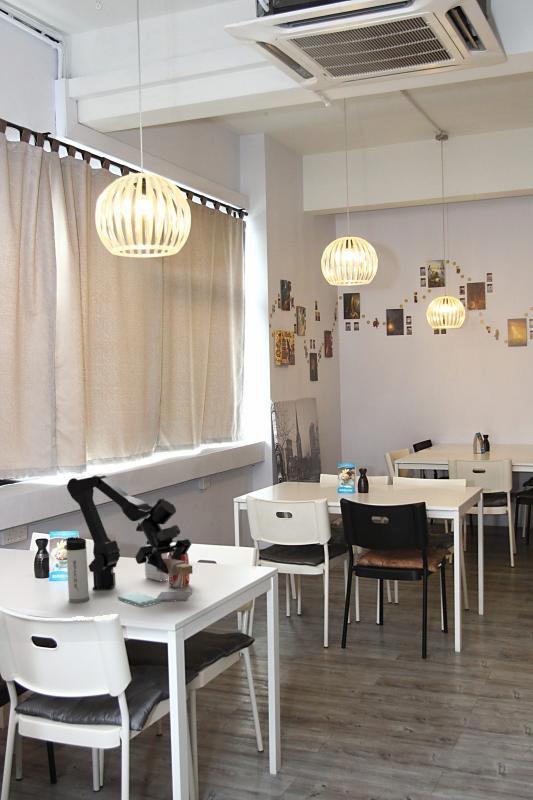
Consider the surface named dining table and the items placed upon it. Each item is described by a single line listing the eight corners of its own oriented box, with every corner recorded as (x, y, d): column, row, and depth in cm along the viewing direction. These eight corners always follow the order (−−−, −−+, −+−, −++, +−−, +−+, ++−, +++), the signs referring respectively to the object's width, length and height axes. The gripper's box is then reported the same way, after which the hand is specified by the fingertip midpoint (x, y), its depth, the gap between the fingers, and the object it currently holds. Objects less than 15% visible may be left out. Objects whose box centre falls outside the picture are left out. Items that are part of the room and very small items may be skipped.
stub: (194, 563, 265) (169, 557, 275) (180, 566, 261) (155, 560, 272) (194, 574, 265) (169, 568, 276) (181, 577, 262) (156, 571, 272)
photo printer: (170, 579, 295) (168, 544, 294) (160, 582, 292) (158, 546, 292) (153, 575, 302) (152, 541, 302) (143, 577, 300) (142, 543, 299)
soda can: (186, 588, 281) (184, 552, 281) (166, 588, 283) (164, 552, 282) (192, 583, 288) (190, 548, 288) (172, 583, 290) (171, 548, 289)
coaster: (155, 601, 265) (155, 599, 265) (161, 593, 275) (161, 591, 275) (186, 600, 264) (186, 598, 264) (191, 592, 274) (191, 590, 274)
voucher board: (118, 599, 270) (118, 595, 270) (136, 595, 275) (136, 591, 275) (141, 606, 259) (141, 603, 259) (160, 602, 264) (160, 598, 264)
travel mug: (80, 596, 276) (77, 535, 276) (92, 599, 272) (89, 537, 272) (64, 600, 271) (61, 539, 271) (77, 603, 267) (74, 540, 267)
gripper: (138, 522, 266) (159, 561, 258) (186, 514, 278) (208, 551, 270) (126, 543, 272) (146, 583, 264) (174, 535, 285) (194, 572, 276)
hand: (174, 571), depth 269 cm, fingers closed on stub, 5 cm apart
